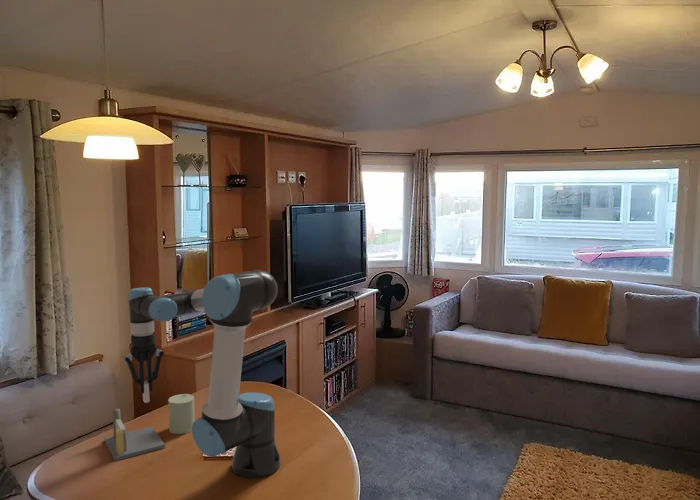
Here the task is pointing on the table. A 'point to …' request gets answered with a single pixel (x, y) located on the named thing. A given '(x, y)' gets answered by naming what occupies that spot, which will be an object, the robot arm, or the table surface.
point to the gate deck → (132, 441)
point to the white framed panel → (120, 426)
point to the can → (181, 413)
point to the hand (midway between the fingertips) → (146, 401)
